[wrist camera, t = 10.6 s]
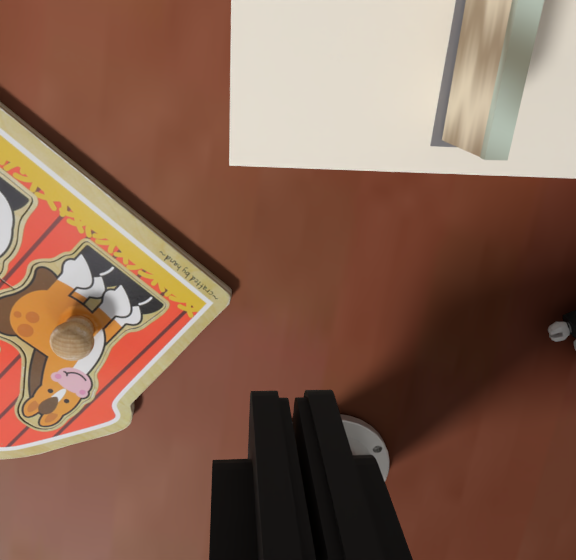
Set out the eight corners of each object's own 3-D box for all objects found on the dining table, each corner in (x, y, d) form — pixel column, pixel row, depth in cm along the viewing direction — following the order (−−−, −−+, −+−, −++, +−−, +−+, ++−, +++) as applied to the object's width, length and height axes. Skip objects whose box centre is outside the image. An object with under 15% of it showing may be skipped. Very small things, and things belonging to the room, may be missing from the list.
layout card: (623, 179, 38) (628, 180, 38) (229, 164, 35) (229, 165, 34) (737, -152, 30) (745, -155, 30) (233, -219, 26) (233, -224, 26)
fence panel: (475, -68, 30) (538, -96, 24) (498, -66, 30) (565, -93, 24) (440, 140, 35) (484, 159, 29) (459, 140, 35) (507, 160, 29)
